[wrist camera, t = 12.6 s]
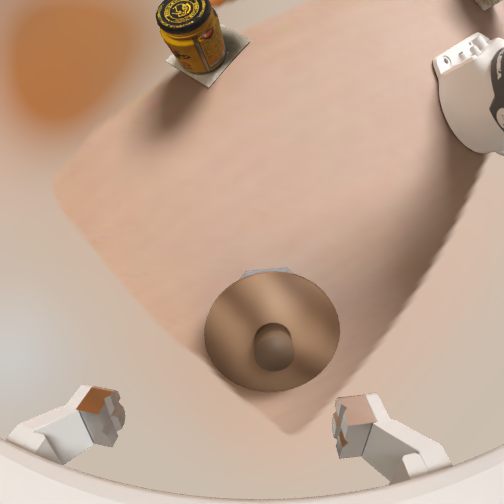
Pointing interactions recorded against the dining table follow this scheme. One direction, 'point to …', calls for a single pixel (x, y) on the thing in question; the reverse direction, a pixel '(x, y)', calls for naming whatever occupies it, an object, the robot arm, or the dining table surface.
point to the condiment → (197, 39)
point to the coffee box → (486, 3)
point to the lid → (272, 331)
